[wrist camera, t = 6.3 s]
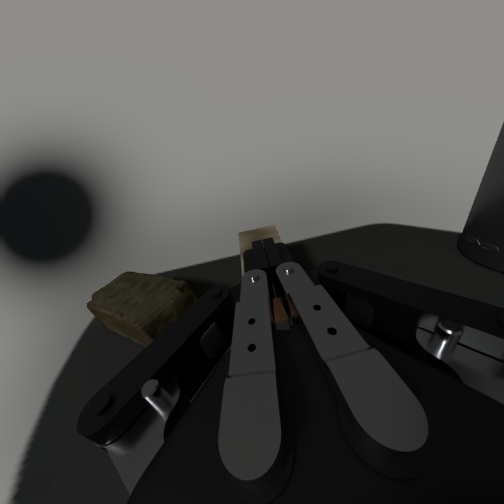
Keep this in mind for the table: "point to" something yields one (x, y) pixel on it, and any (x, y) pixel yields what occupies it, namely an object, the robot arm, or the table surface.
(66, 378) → the table surface
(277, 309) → the maple block
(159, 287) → the stone block
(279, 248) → the robot arm
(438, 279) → the table surface
